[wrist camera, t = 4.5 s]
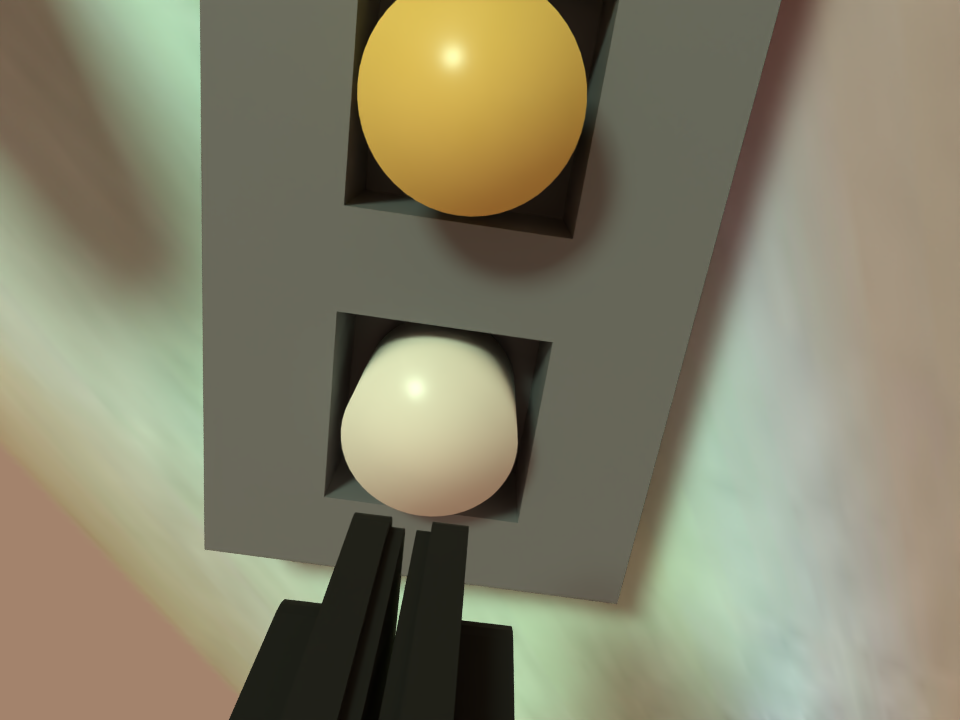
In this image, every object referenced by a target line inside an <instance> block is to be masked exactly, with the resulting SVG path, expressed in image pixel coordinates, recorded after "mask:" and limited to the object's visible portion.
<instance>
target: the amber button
mask: <svg viewBox="0 0 960 720" xmlns="http://www.w3.org/2000/svg"><path fill="white" fill-rule="evenodd" d="M357 101H358V110H359V117H360V121H361V125H362V130H363V133H364V135H365V138H366V141H367V144H368V146H369V148H370V150H371V152H372V154H373V156H374V158H375V160H376V161H377V162H378V164H379V165H380V167H381V168H382V170H383V171H384V173H385V174H386V175H387V176H388V177H389V178H390V179H391V181H392V182H393V183H394V184H395V185H396V186H398V187H399V188H400V189H401V190H402V191H403V192H404V193H406V194H407V195H409V196H410V197H412V198H413V199H414V200H416V201H418V202H420V203H422V204H423V205H425V206H427V207H429V208H432V209H435V210H438V211H440V212H443V213H448V214H453V215H458V216H470V217H473V216H487V215H493V214H498V213H502V212H505V211H508V210H511V209H513V208H516V207H518V206H520V205H522V204H524V203H526V202H527V201H529V200H531V199H532V198H534V197H535V196H537V195H538V194H539V193H541V192H542V191H543V190H544V189H545V188H546V187H548V186H549V185H550V184H551V183H552V182H553V180H554V179H555V178H556V177H557V176H558V175H559V174H560V172H561V171H562V170H563V168H564V167H565V165H566V164H567V163H568V161H569V159H570V157H571V155H572V153H573V152H574V150H575V148H576V145H577V143H578V140H579V137H580V135H581V132H582V128H583V124H584V120H585V113H586V105H587V83H586V74H585V68H584V64H583V60H582V56H581V53H580V50H579V48H578V45H577V42H576V40H575V38H574V36H573V34H572V32H571V30H570V29H569V27H568V25H567V23H566V22H565V21H564V19H563V18H562V16H561V15H560V14H559V12H558V11H557V10H556V9H555V8H554V7H553V6H552V5H551V4H550V3H549V2H548V1H547V0H396V1H395V2H394V3H393V4H392V5H391V6H390V7H389V8H388V9H387V11H386V12H385V13H384V15H383V16H382V17H381V19H380V20H379V21H378V23H377V25H376V26H375V28H374V30H373V32H372V34H371V35H370V37H369V40H368V42H367V45H366V47H365V50H364V53H363V56H362V60H361V64H360V68H359V76H358V83H357Z"/></svg>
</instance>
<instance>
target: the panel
mask: <svg viewBox="0 0 960 720" xmlns="http://www.w3.org/2000/svg"><path fill="white" fill-rule="evenodd" d="M395 1H396V0H200V51H201V171H202V292H203V412H204V532H205V550H213V551H220V552H228V553H235V554H243V555H250V556H258V557H266V558H273V559H281V560H288V561H296V562H304V563H311V564H319V565H326V566H334V567H335V565H336V562H337V560H338V557H339V554H340V551H341V548H342V546H343V543H344V540H345V537H346V534H347V531H348V529H349V526H350V523H351V520H352V517H353V515H354V513H355V512H358V513H366V514H374V515H383V516H391V517H392V527H397V528H405V540H404V551H403V561H402V571H401V575H402V576H407V575H408V570H409V565H410V560H411V555H412V550H413V545H414V540H415V535H416V531H417V530H422V531H430V532H431V527H432V522H440V523H448V524H457V525H465V526H469V533H468V546H467V558H466V571H465V583H464V584H470V585H478V586H485V587H493V588H501V589H508V590H516V591H523V592H531V593H538V594H546V595H554V596H561V597H569V598H576V599H584V600H591V601H599V602H607V603H614V604H617V602H618V598H619V595H620V591H621V587H622V584H623V580H624V576H625V573H626V569H627V565H628V562H629V558H630V554H631V551H632V547H633V543H634V540H635V536H636V532H637V529H638V525H639V521H640V518H641V514H642V510H643V507H644V503H645V499H646V496H647V492H648V488H649V485H650V481H651V477H652V474H653V470H654V466H655V462H656V459H657V455H658V451H659V448H660V444H661V440H662V437H663V433H664V429H665V426H666V422H667V418H668V415H669V411H670V407H671V404H672V400H673V396H674V393H675V389H676V385H677V382H678V378H679V374H680V371H681V367H682V363H683V360H684V356H685V352H686V349H687V345H688V341H689V338H690V334H691V330H692V327H693V323H694V319H695V316H696V312H697V308H698V305H699V301H700V297H701V294H702V290H703V286H704V283H705V279H706V275H707V272H708V268H709V264H710V261H711V257H712V253H713V249H714V246H715V242H716V238H717V235H718V231H719V227H720V224H721V220H722V216H723V213H724V209H725V205H726V202H727V198H728V194H729V191H730V187H731V183H732V180H733V176H734V172H735V169H736V165H737V161H738V158H739V154H740V150H741V147H742V143H743V139H744V136H745V132H746V128H747V125H748V121H749V117H750V114H751V110H752V106H753V103H754V99H755V95H756V92H757V88H758V84H759V81H760V77H761V73H762V70H763V66H764V62H765V59H766V55H767V51H768V48H769V44H770V40H771V37H772V33H773V29H774V25H775V22H776V18H777V14H778V11H779V7H780V3H781V0H547V1H548V2H549V3H550V4H551V5H552V6H553V7H554V8H555V9H556V10H557V11H558V12H559V14H560V15H561V16H562V18H563V19H564V21H565V22H566V23H567V25H568V27H569V29H570V30H571V32H572V34H573V36H574V38H575V40H576V42H577V45H578V48H579V50H580V53H581V56H582V60H583V64H584V68H585V74H586V83H587V105H586V113H585V120H584V124H583V128H582V132H581V135H580V137H579V140H578V143H577V145H576V148H575V150H574V152H573V153H572V155H571V157H570V159H569V161H568V163H567V164H566V165H565V167H564V168H563V170H562V171H561V172H560V174H559V175H558V176H557V177H556V178H555V179H554V180H553V182H552V183H551V184H550V185H549V186H548V187H546V188H545V189H544V190H543V191H542V192H541V193H539V194H538V195H537V196H535V197H534V198H532V199H531V200H529V201H527V202H526V203H524V204H522V205H520V206H518V207H516V208H513V209H511V210H508V211H505V212H502V213H498V214H493V215H487V216H473V217H470V216H458V215H453V214H448V213H443V212H440V211H438V210H435V209H432V208H429V207H427V206H425V205H423V204H422V203H420V202H418V201H416V200H414V199H413V198H412V197H410V196H409V195H407V194H406V193H404V192H403V191H402V190H401V189H400V188H399V187H398V186H396V185H395V184H394V183H393V182H392V181H391V179H390V178H389V177H388V176H387V175H386V174H385V173H384V171H383V170H382V168H381V167H380V165H379V164H378V162H377V161H376V160H375V158H374V156H373V154H372V152H371V150H370V148H369V146H368V144H367V141H366V138H365V135H364V133H363V130H362V125H361V121H360V117H359V110H358V101H357V83H358V76H359V68H360V64H361V60H362V56H363V53H364V50H365V47H366V45H367V42H368V40H369V37H370V35H371V34H372V32H373V30H374V28H375V26H376V25H377V23H378V21H379V20H380V19H381V17H382V16H383V15H384V13H385V12H386V11H387V9H388V8H389V7H390V6H391V5H392V4H393V3H394V2H395ZM407 321H408V322H415V323H422V324H429V325H436V326H443V327H450V328H457V329H464V330H471V331H478V332H485V333H489V334H490V335H491V336H492V337H493V338H494V339H495V340H496V341H497V342H498V343H499V344H500V346H501V347H502V349H503V350H504V351H505V353H506V355H507V357H508V359H509V361H510V364H511V367H512V370H513V375H514V383H515V401H516V418H517V437H518V446H517V454H516V458H515V462H514V465H513V467H512V470H511V472H510V474H509V475H508V477H507V479H506V480H505V482H504V483H503V484H502V486H501V487H500V488H499V489H498V490H497V491H496V492H495V493H494V494H493V495H492V496H491V497H490V498H488V499H487V500H485V501H484V502H483V503H481V504H479V505H477V506H475V507H474V508H471V509H469V510H466V511H464V512H460V513H457V514H453V515H446V516H431V517H430V516H419V515H413V514H408V513H405V512H402V511H399V510H396V509H394V508H392V507H389V506H387V505H386V504H384V503H382V502H380V501H379V500H377V499H376V498H375V497H373V496H372V495H371V494H369V493H368V492H367V491H366V490H365V489H364V488H363V487H362V486H361V485H360V483H359V482H358V481H357V480H356V479H355V477H354V475H353V474H352V472H351V471H350V469H349V467H348V465H347V462H346V460H345V457H344V453H343V450H342V443H341V426H342V419H343V416H344V413H345V410H346V407H347V405H348V403H349V401H350V399H351V397H352V395H353V393H354V391H355V389H356V387H357V385H358V382H359V380H360V378H361V376H362V374H363V372H364V370H365V368H366V366H367V364H368V362H369V360H370V358H371V355H372V353H373V351H374V350H375V348H376V347H377V345H378V344H379V342H380V341H381V340H382V339H383V338H384V337H385V336H386V335H387V334H388V333H389V332H390V331H392V330H393V329H395V328H396V327H398V326H399V325H401V324H403V323H405V322H407Z"/></svg>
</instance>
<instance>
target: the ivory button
mask: <svg viewBox="0 0 960 720" xmlns="http://www.w3.org/2000/svg"><path fill="white" fill-rule="evenodd" d="M341 443H342V450H343V453H344V457H345V460H346V462H347V465H348V467H349V469H350V471H351V472H352V474H353V475H354V477H355V479H356V480H357V481H358V482H359V483H360V485H361V486H362V487H363V488H364V489H365V490H366V491H367V492H368V493H369V494H371V495H372V496H373V497H375V498H376V499H377V500H379V501H380V502H382V503H384V504H386V505H387V506H389V507H392V508H394V509H396V510H399V511H402V512H405V513H408V514H413V515H419V516H430V517H431V516H446V515H453V514H457V513H460V512H464V511H466V510H469V509H471V508H474V507H475V506H477V505H479V504H481V503H483V502H484V501H485V500H487V499H488V498H490V497H491V496H492V495H493V494H494V493H495V492H496V491H497V490H498V489H499V488H500V487H501V486H502V484H503V483H504V482H505V480H506V479H507V477H508V475H509V474H510V472H511V470H512V467H513V465H514V462H515V458H516V454H517V446H518V437H517V418H516V401H515V383H514V375H513V370H512V367H511V364H510V361H509V359H508V357H507V355H506V353H505V351H504V350H503V349H502V347H501V346H500V344H499V343H498V342H497V341H496V340H495V339H494V338H493V337H492V336H491V335H490V334H489V333H485V332H478V331H471V330H464V329H457V328H450V327H443V326H436V325H429V324H422V323H415V322H408V321H407V322H405V323H403V324H401V325H399V326H398V327H396V328H395V329H393V330H392V331H390V332H389V333H388V334H387V335H386V336H385V337H384V338H383V339H382V340H381V341H380V342H379V344H378V345H377V347H376V348H375V350H374V351H373V353H372V355H371V358H370V360H369V362H368V364H367V366H366V368H365V370H364V372H363V374H362V376H361V378H360V380H359V382H358V385H357V387H356V389H355V391H354V393H353V395H352V397H351V399H350V401H349V403H348V405H347V407H346V410H345V413H344V416H343V419H342V426H341Z"/></svg>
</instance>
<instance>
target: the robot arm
mask: <svg viewBox="0 0 960 720" xmlns="http://www.w3.org/2000/svg"><path fill="white" fill-rule="evenodd" d="M468 533H469V526H465V525H457V524H448V523H440V522H432V527H431V532H430V531H422V530H417V531H416V535H415V540H414V545H413V550H412V555H411V560H410V565H409V570H408V575H407V580H406V585H405V590H404V595H403V600H402V605H401V610H400V615H399V620H398V625H397V630H396V623H397V613H398V603H399V592H400V582H401V571H402V561H403V551H404V540H405V528H397V527H392V517H391V516H383V515H374V514H366V513H358V512H355V513H354V515H353V517H352V520H351V523H350V526H349V529H348V531H347V534H346V537H345V540H344V543H343V546H342V548H341V551H340V554H339V557H338V560H337V562H336V565H335V568H334V571H333V574H332V576H331V579H330V582H329V585H328V588H327V591H326V593H325V596H324V599H323V602H322V604H321V603H312V602H304V601H296V600H287V599H284V600H283V601H282V602H281V604H280V606H279V608H278V609H277V611H276V614H275V616H274V618H273V620H272V623H271V625H270V627H269V630H268V632H267V634H266V636H265V639H264V641H263V643H262V646H261V648H260V650H259V652H258V655H257V657H256V659H255V661H254V664H253V666H252V668H251V671H250V673H249V675H248V677H247V680H246V682H245V684H244V687H243V689H242V691H241V693H240V696H239V698H238V700H237V703H236V705H235V707H234V709H233V712H232V714H231V716H230V719H229V720H514V663H513V630H512V626H505V625H496V624H488V623H479V622H471V621H463V620H462V608H463V596H464V583H465V571H466V558H467V546H468ZM395 634H396V635H395Z"/></svg>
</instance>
